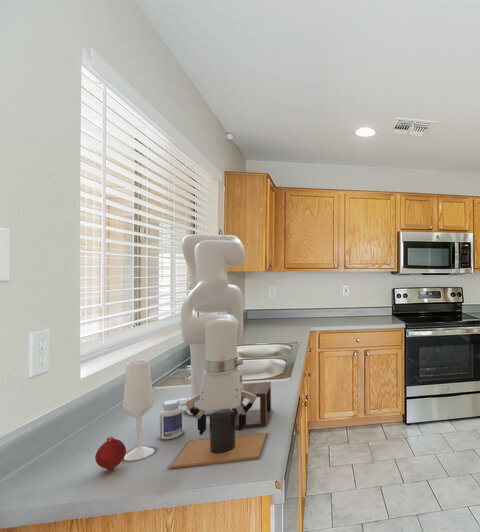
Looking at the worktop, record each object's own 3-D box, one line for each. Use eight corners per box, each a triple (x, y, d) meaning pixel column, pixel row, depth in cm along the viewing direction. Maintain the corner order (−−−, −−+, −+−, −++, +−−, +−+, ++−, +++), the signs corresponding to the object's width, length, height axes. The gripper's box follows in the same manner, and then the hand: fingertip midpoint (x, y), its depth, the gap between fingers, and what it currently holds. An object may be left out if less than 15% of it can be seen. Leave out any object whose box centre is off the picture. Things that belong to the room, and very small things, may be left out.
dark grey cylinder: (207, 454, 95) (206, 419, 95) (213, 444, 101) (213, 410, 101) (232, 452, 96) (231, 417, 96) (237, 441, 102) (237, 408, 102)
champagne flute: (160, 447, 101) (159, 358, 101) (143, 460, 94) (142, 364, 94) (135, 448, 100) (133, 359, 100) (116, 461, 94) (115, 365, 94)
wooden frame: (223, 430, 111) (222, 396, 111) (233, 415, 122) (232, 384, 122) (266, 426, 113) (265, 393, 113) (271, 411, 125) (270, 381, 125)
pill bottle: (186, 432, 109) (186, 399, 109) (170, 440, 104) (169, 406, 104) (172, 430, 111) (172, 397, 111) (155, 438, 106) (155, 404, 106)
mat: (170, 468, 90) (170, 466, 90) (190, 442, 103) (190, 440, 103) (258, 458, 94) (258, 456, 94) (266, 434, 107) (266, 432, 107)
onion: (107, 464, 92) (106, 431, 92) (131, 462, 93) (131, 430, 93) (89, 477, 86) (89, 442, 87) (115, 475, 87) (115, 441, 87)
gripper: (258, 359, 104) (259, 421, 104) (190, 364, 100) (191, 427, 100) (253, 366, 97) (254, 432, 97) (180, 371, 93) (181, 440, 93)
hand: (222, 430), depth 99 cm, fingers open, 9 cm apart
